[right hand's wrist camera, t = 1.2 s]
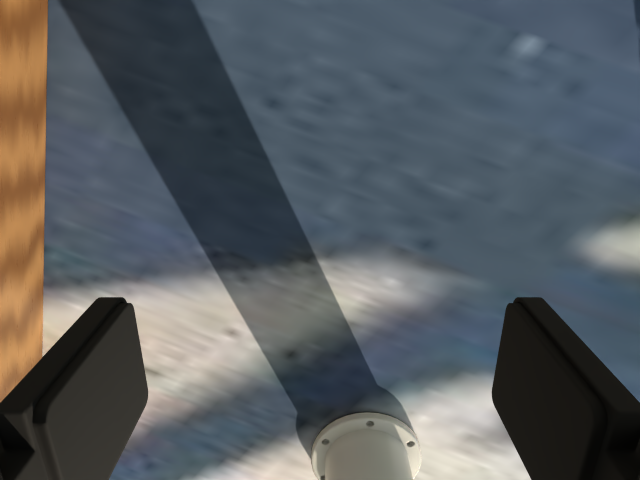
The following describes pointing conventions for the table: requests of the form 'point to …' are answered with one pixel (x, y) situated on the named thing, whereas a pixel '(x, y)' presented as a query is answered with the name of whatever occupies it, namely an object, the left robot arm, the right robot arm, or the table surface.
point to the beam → (22, 186)
